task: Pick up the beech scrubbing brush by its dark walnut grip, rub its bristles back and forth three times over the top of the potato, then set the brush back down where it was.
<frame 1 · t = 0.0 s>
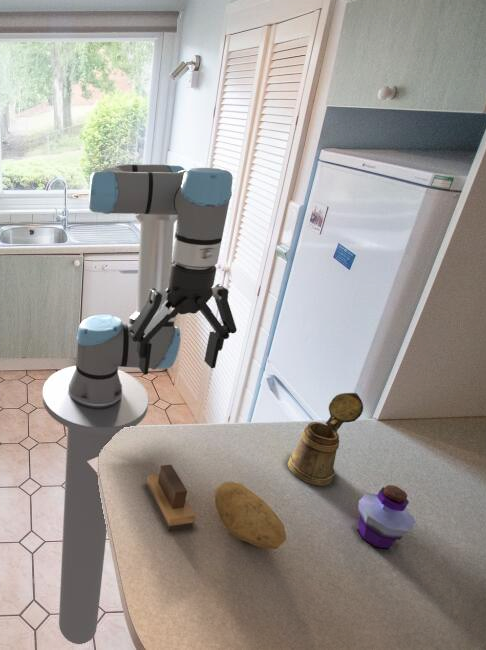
hand: (176, 367, 87), 29 cm above the countertop, tool pointing down, fingers open, 13 cm apart
wooden mug: (315, 467, 103), on the countertop
brush: (168, 506, 93), on the countertop
potion bottle: (374, 537, 86), on the countertop
potato: (244, 532, 87), on the countertop
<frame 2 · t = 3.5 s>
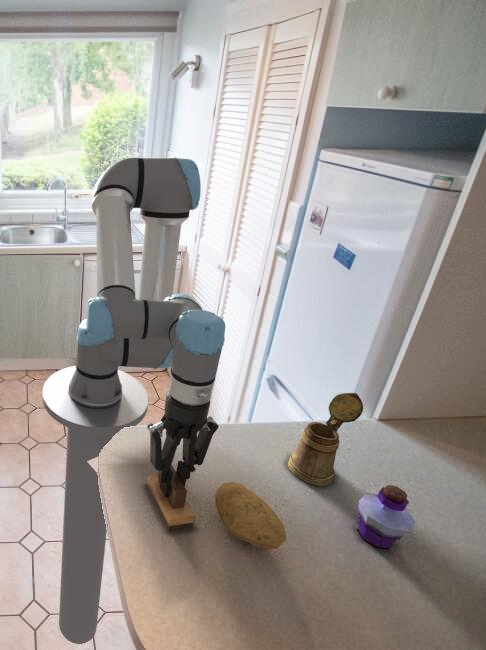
hand: (171, 490, 91), 5 cm above the countertop, tool pointing down, fingers closed on brush, 2 cm apart
brush: (168, 506, 93), on the countertop, touching gripper
everything else where it was.
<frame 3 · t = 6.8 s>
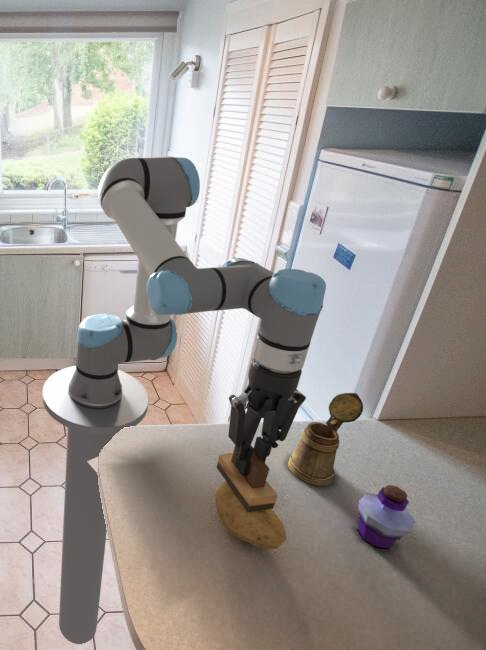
hand: (248, 469, 85), 13 cm above the countertop, tool pointing down, fingers closed on brush, 2 cm apart
brush: (243, 487, 87), point 8 cm above the countertop, touching gripper
everything else where it was.
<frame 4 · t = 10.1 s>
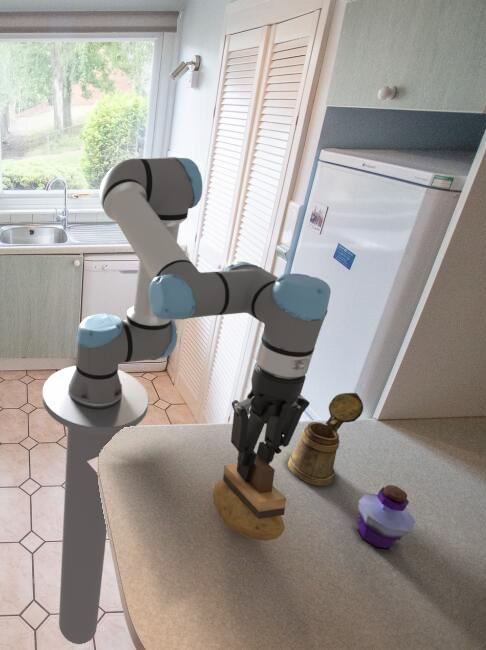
hand: (250, 474, 84), 12 cm above the countertop, tool pointing down, fingers closed on brush, 2 cm apart
brush: (251, 496, 84), point 9 cm above the countertop, tilted 10°, touching gripper
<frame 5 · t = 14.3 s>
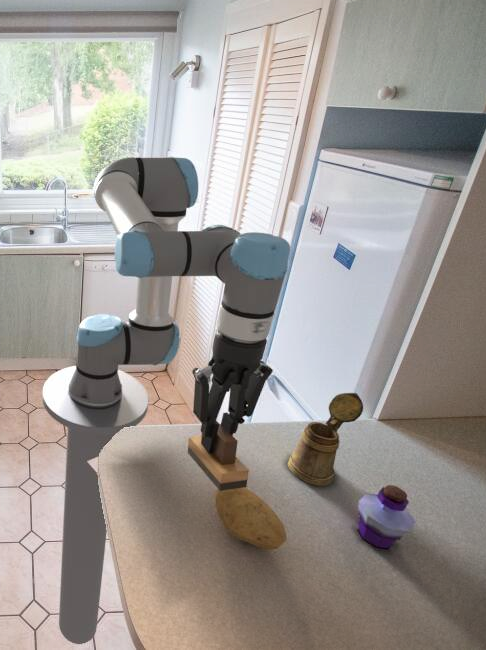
hand: (214, 446, 81), 19 cm above the countertop, tool pointing down, fingers closed on brush, 2 cm apart
brush: (215, 468, 82), point 15 cm above the countertop, tilted 8°, touching gripper
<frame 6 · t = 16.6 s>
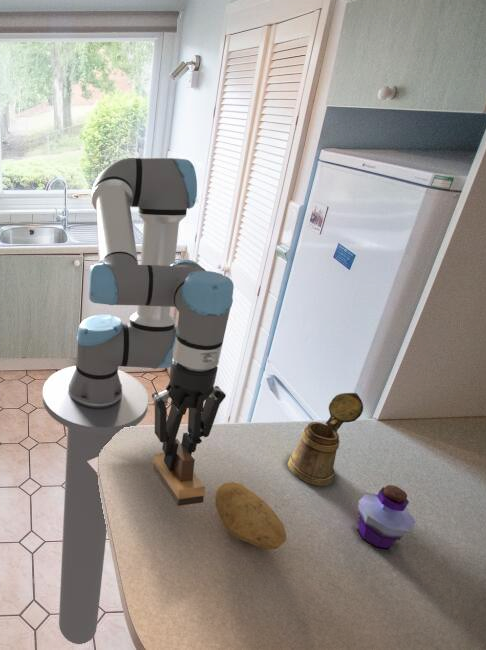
hand: (176, 464, 88), 12 cm above the countertop, tool pointing down, fingers closed on brush, 2 cm apart
brush: (176, 484, 88), point 8 cm above the countertop, tilted 9°, touching gripper
everything else where it was.
when the fingers open (5 cm above the countertop, at t = 18.3 s): brush stays where it is, on the countertop.
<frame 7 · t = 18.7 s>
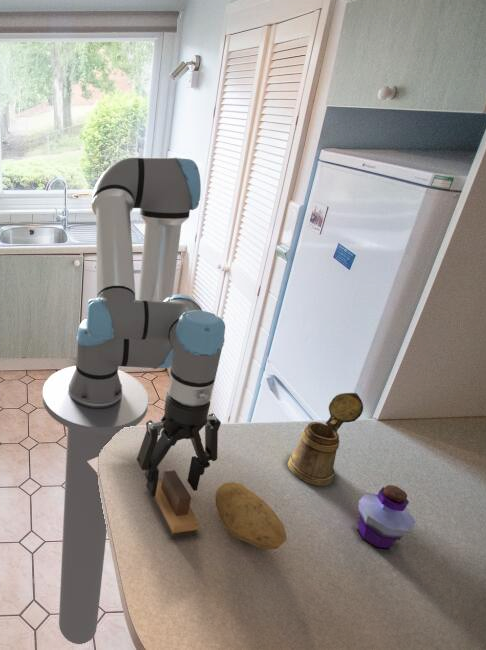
hand: (171, 488, 90), 5 cm above the countertop, tool pointing down, fingers open, 8 cm apart
brush: (171, 513, 91), on the countertop
everything else where it was.
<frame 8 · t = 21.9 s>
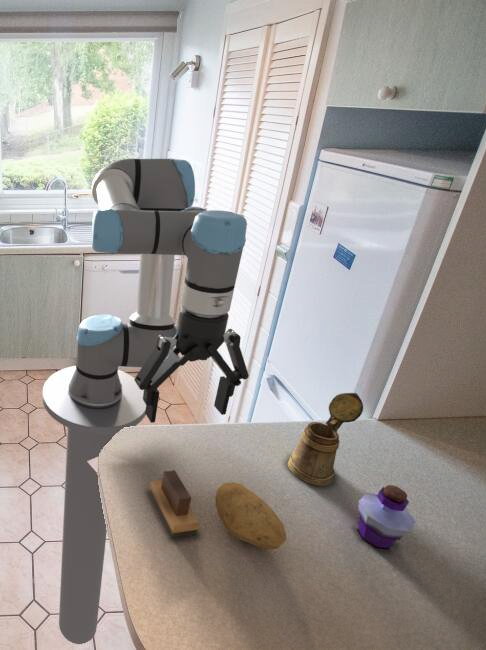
hand: (185, 414, 82), 24 cm above the countertop, tool pointing down, fingers open, 13 cm apart
nothing on the countertop moved.
at the end: brush inside the target area (1.6 cm from its centre), on the countertop; brush tilted 0°; potato moved 0.2 cm from its start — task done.
